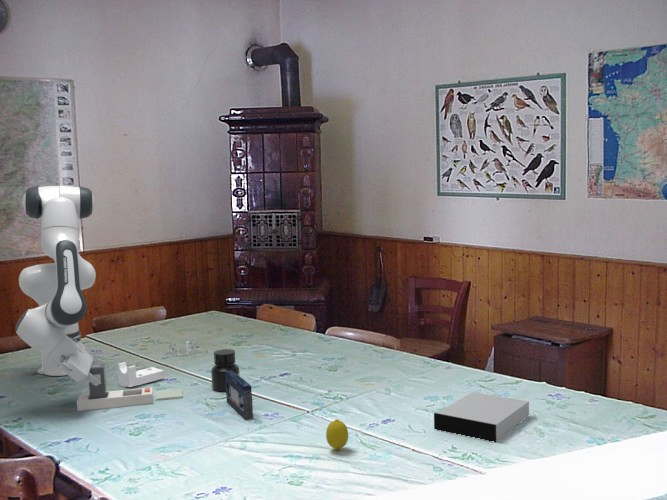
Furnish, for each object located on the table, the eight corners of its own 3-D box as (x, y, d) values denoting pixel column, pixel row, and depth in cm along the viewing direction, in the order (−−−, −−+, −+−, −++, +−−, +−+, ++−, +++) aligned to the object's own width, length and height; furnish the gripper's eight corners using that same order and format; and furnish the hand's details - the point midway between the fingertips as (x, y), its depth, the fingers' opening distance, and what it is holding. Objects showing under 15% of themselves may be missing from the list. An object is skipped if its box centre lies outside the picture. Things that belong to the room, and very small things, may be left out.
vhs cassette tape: (226, 402, 232) (224, 370, 231) (235, 401, 233) (234, 369, 232) (243, 421, 216) (241, 387, 214) (253, 419, 217) (252, 385, 215)
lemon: (325, 446, 195) (324, 416, 194) (347, 445, 195) (346, 415, 194) (327, 455, 189) (326, 424, 188) (349, 453, 190) (348, 422, 189)
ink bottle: (246, 387, 246) (244, 351, 245) (225, 394, 240) (223, 357, 238) (227, 382, 253) (225, 346, 251) (205, 388, 246) (203, 352, 245)
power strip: (77, 410, 229) (76, 399, 228) (79, 403, 235) (79, 392, 235) (152, 403, 233) (152, 392, 233) (153, 396, 240) (152, 385, 240)
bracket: (130, 390, 248) (128, 367, 247) (119, 385, 253) (117, 363, 252) (164, 380, 257) (163, 359, 256) (153, 377, 262) (152, 355, 262)
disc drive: (434, 431, 204) (433, 413, 203) (471, 407, 222) (471, 390, 221) (495, 444, 194) (494, 425, 193) (529, 418, 212) (529, 400, 211)
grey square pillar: (91, 396, 235) (89, 364, 233) (106, 395, 236) (104, 363, 234) (90, 401, 230) (87, 368, 229) (105, 399, 231) (103, 367, 230)
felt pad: (156, 392, 244) (156, 391, 244) (181, 390, 245) (181, 388, 245) (156, 400, 236) (156, 398, 236) (182, 398, 238) (182, 396, 237)
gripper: (66, 353, 219) (104, 383, 223) (74, 336, 239) (108, 364, 242) (51, 369, 219) (89, 399, 222) (60, 351, 239) (95, 379, 242)
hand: (99, 380), depth 233 cm, fingers closed on grey square pillar, 4 cm apart
